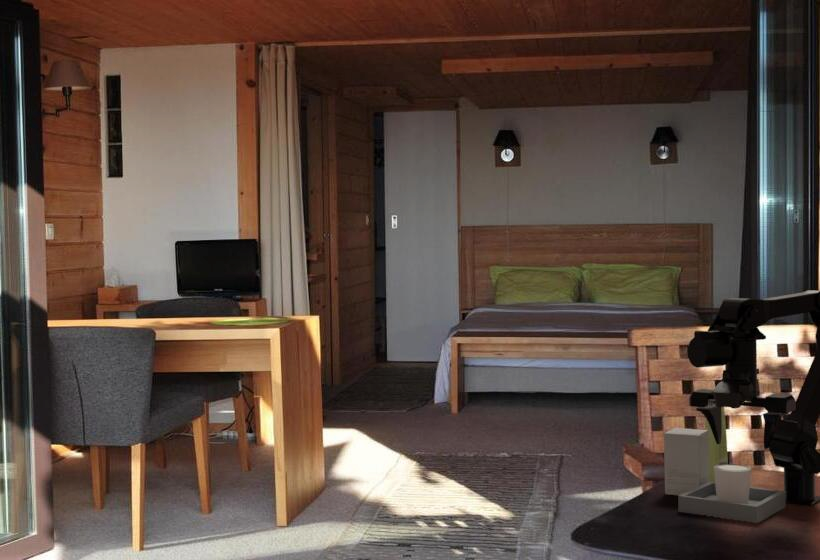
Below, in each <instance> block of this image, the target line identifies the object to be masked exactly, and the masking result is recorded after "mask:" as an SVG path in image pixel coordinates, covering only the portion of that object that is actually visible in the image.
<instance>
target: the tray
mask: <svg viewBox="0 0 820 560" xmlns="http://www.w3.org/2000/svg"><path fill="white" fill-rule="evenodd" d="M677 496H678V497H677V498H678V499H677V501H678V503H677V504H678V505H677V506H678V509H677V510H678V513H685V514H693V515H697V514H698V515H699V516H704V515H706V516H705V517H711V516H713V518H718V517H720V519H724V518H726V520H731V519H733V520H732V521H738V520H740V522H744V521H746V522H745V523H751V522H752V523H753V524H758V523H760V522H762V521H764V520H765V519H768V518H769V517H771V516H773V515H774V514H776V513H778V512H779V511H781V510H782V509H785V508H786V504H787V502H786V491H784V490H780V489H779V490H778V489H777V490H776V489H770V488H763V487H755V486H750V490H749V501H748V504H743V503H736V502H729V501H722V500H717V495H716V485H715V482H708V483H706V484H704V485H701V486H699V487H697V488H695V489H692V490H690V491H688V492H686V493H683V494H681V495H677Z"/></svg>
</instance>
